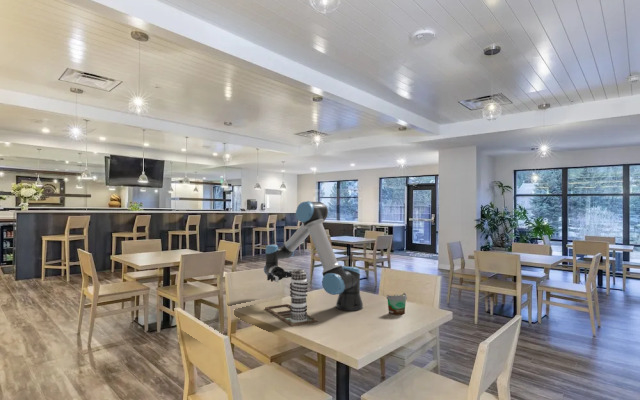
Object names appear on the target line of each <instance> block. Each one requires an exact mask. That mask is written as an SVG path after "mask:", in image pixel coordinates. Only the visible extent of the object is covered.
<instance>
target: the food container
mask: <svg viewBox="0 0 640 400" xmlns="http://www.w3.org/2000/svg"><path fill="white" fill-rule="evenodd" d="M386 299H387V307H388V314H390V315H395V316H402V315H404V314H405V312H406V301H407V300H408V295H407V293H405V292H403V293H402V294H394V295H390V294H387V295H386Z"/></svg>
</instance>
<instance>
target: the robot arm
mask: <svg viewBox="0 0 640 400" xmlns="http://www.w3.org/2000/svg"><path fill="white" fill-rule="evenodd" d="M328 214H329V209H328V207H327V205H326V204H325V203H323V202H321V201H311V200H310V201H309V200H307V201H302V202H300V203H299V204H298V205H297V207H296V210H295V215H296V219H297V220H298V221H299V222H301V223H302V224H301V225H300V226H299V227H298V228H297V229H296V231H295V232H294V233H293V234H292V235H291V236H290V237H289V239H287V241H286V242H285V243H284V244H283V245H282V246H278V245H277V244H267V245H266V246H265V253H264V254H265V265H264V267H263V272H264V274H265V275H266V276H267V277H266V278H267V279H266V281H270V282H274V283H275V282H276V283H280V282H279V281H281V280H283V279H284V278H285V279H288V278H292V277H291V275H292V274H291V272H292V271H293V270H292V271H291V270H288V271H286V270H285V269H284V268H283V267H281V266H279V260H283V259H289V258H291V257H293V256H294V254H295V250H297V248H299V246H300V245H301V244H302V243H303V242H304V241H305V240H306V238H308V237H309V235H310V238H311V240H312V243H313V245H314V248H315V251H316V253H317V255H318V259H319V260H320V263H321V267H322V272H321V275H322V280H321V284H322V288H323V290H324V291H325V293H327V294H329V295H334V296H335V295H338V296H337V301H336V302H335V303H336V304H335V307H336V309H339V310H341V311H348V312H350V311H351V312H352V311H361V310H362V309H363V308H364V304H363V300H362V297H361V294H360V293H361V292H360V291H361V285H360V284H361V280H360V279H361V278H360V277H361V272H360V268H359V267H354V266H343V264H341V263H339V261H338V259H337V257H336V255H335V252H334V250H333V247H332V244H331V242H330V240H329V237H328V235H327V232H326V230H325V227H324V224H323V223H324V222H325V220H326V219H327V218H328Z"/></svg>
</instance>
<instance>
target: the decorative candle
mask: <svg viewBox="0 0 640 400" xmlns="http://www.w3.org/2000/svg"><path fill="white" fill-rule="evenodd" d="M291 274H292V275H291V277H290V278H291V279H290V283H289V289H290V290H289V296H290V299H291V301H290V305H291V306H290V308H289V310H290V311H291V312H290V318H291V319H290V320H291V321H292V322H303V321H306V320H307V314H308V311H307V310H308V309H307V308H308V305H307V304H308V303H307V297H308V294H307V293H308V290H307V289H308V287H307V286H308V285H309V283H308V282H309V281H308V278H307V272H306V270H305V269H303V268H296V269H293V270H292V272H291Z"/></svg>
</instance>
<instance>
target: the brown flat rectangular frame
mask: <svg viewBox="0 0 640 400" xmlns="http://www.w3.org/2000/svg"><path fill="white" fill-rule="evenodd" d="M290 306H291V304H289V303H284V304H279V305H270V306H265V310H266V311H267V312H270V313H271V314H272V315H274V316H275V317H277V318H279V319H280V320H282V321H283V322H284V323H286V324H288V325H289V326H290V327H296V326H302V325H307V324H313V323H317V322H318V319H317V318H315V317H313V316H311V315H309V314H308V313H307V320H306V321H303V322H292V321H291V320H290V319H291V318H290V312H291V311H290V309H291V308H290ZM284 307H288V308H289V309H288V310H287V309H286V310H282V311H274V310H273V309H277V308H284Z"/></svg>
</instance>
